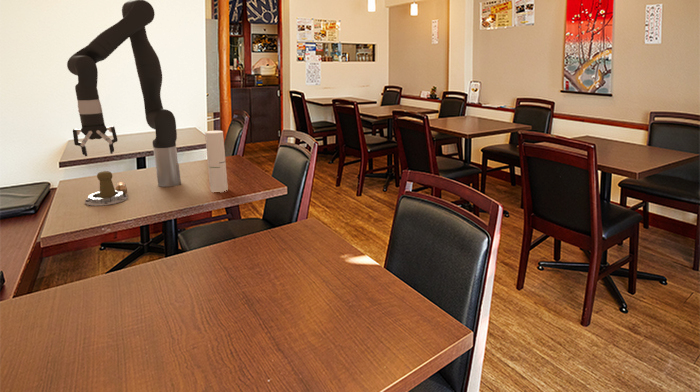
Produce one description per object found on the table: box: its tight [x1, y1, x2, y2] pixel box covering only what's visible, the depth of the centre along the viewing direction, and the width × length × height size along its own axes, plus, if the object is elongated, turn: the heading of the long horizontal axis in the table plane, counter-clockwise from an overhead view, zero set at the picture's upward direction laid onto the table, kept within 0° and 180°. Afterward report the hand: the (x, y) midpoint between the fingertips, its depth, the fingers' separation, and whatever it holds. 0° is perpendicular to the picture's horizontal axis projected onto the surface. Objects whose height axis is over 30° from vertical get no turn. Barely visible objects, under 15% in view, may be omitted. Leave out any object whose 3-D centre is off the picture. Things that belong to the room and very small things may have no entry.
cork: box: [96, 170, 116, 198], centre depth 170 cm, size 6×6×11 cm
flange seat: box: [84, 189, 129, 207], centre depth 172 cm, size 15×15×2 cm
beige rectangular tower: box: [204, 130, 229, 193], centre depth 182 cm, size 7×7×25 cm
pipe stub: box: [115, 181, 128, 195], centre depth 181 cm, size 8×4×4 cm, turn 28°
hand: (99, 154), depth 167 cm, fingers open, 8 cm apart
